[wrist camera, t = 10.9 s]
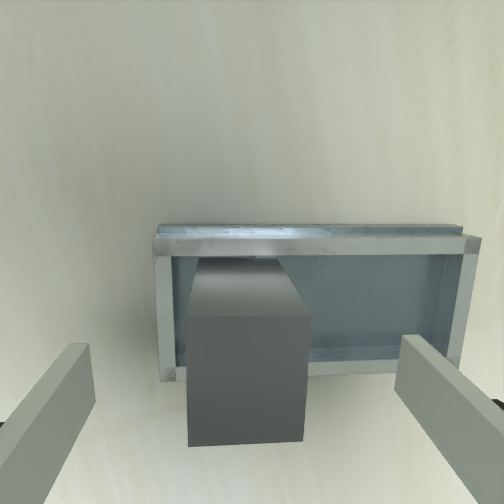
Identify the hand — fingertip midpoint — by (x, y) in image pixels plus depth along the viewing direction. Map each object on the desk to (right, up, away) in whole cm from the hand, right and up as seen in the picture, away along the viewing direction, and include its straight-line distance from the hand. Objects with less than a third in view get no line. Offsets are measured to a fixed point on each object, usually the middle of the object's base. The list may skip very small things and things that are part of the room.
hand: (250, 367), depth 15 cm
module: (-1, +2, +8) cm, 9 cm away
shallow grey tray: (+4, +2, +10) cm, 11 cm away
